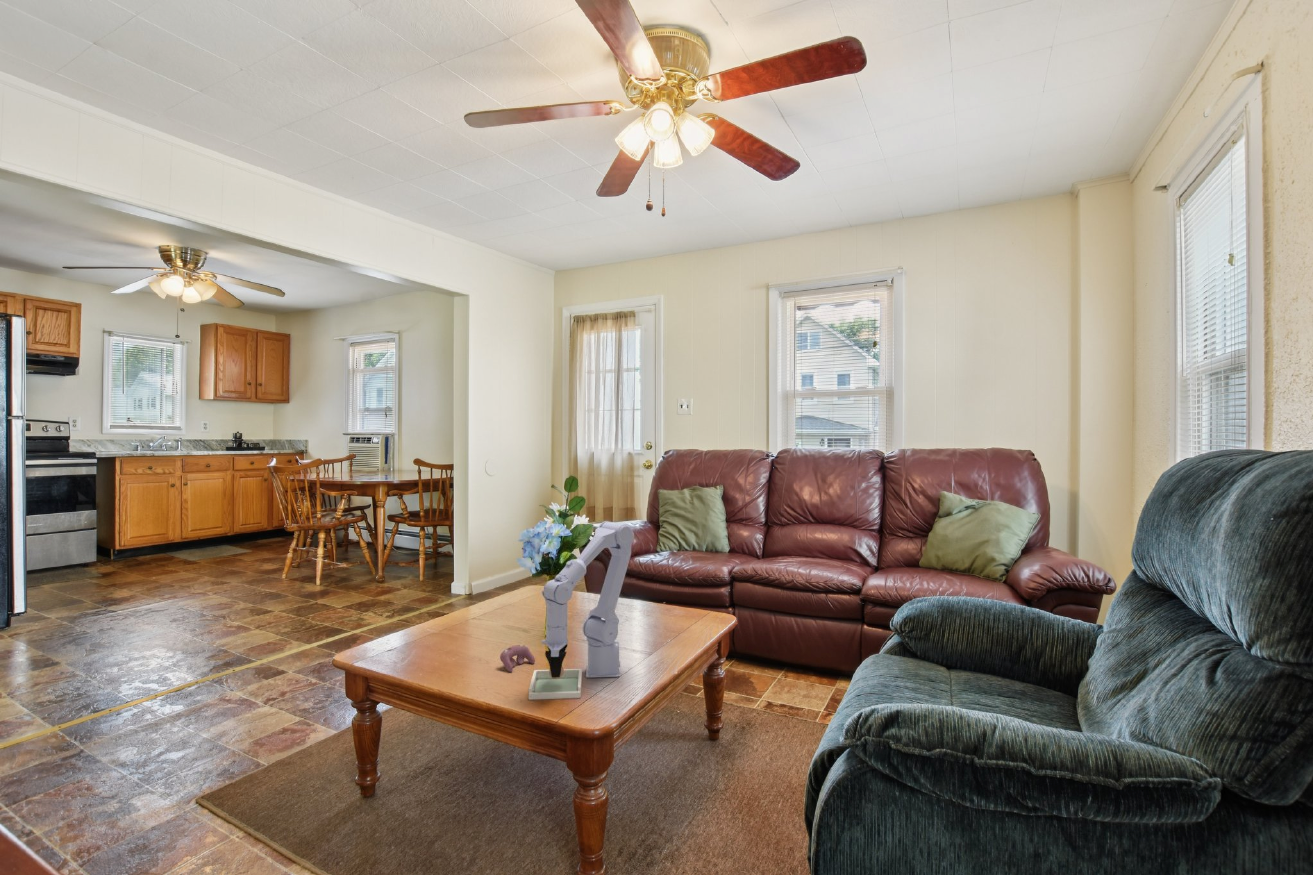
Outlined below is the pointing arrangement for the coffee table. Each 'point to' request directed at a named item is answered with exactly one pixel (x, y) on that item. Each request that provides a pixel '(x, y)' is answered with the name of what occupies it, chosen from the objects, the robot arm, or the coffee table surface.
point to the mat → (556, 685)
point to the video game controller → (518, 651)
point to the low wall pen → (555, 695)
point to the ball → (560, 674)
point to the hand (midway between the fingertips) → (556, 673)
